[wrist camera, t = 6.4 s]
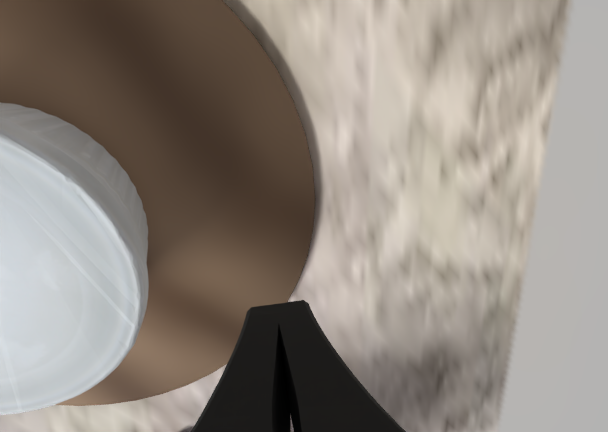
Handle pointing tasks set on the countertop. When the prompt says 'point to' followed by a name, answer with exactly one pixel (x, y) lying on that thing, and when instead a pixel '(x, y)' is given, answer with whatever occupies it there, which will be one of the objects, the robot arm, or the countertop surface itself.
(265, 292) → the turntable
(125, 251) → the ramekin
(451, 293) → the countertop surface
